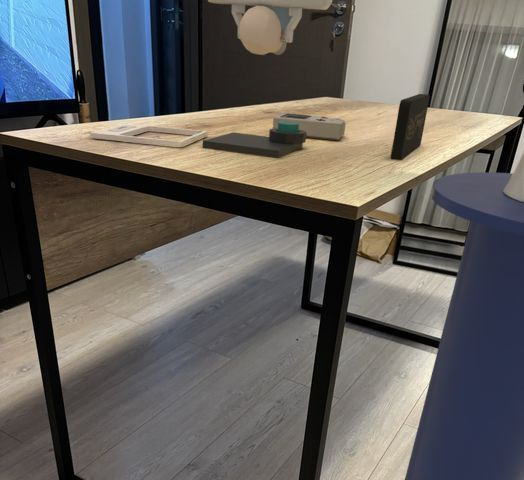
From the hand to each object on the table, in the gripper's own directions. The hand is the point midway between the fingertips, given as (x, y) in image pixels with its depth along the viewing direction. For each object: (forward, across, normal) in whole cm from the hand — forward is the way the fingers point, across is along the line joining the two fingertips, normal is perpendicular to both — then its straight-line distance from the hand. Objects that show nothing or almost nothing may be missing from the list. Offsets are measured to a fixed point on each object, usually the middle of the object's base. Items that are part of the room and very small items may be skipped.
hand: (264, 40), depth 85 cm
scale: (+18, +4, -8) cm, 20 cm away
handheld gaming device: (+18, 0, -30) cm, 35 cm away
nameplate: (+18, -22, -23) cm, 37 cm away
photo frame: (+18, +24, -4) cm, 30 cm away
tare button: (+15, -1, -12) cm, 19 cm away
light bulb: (+2, 0, 0) cm, 2 cm away
